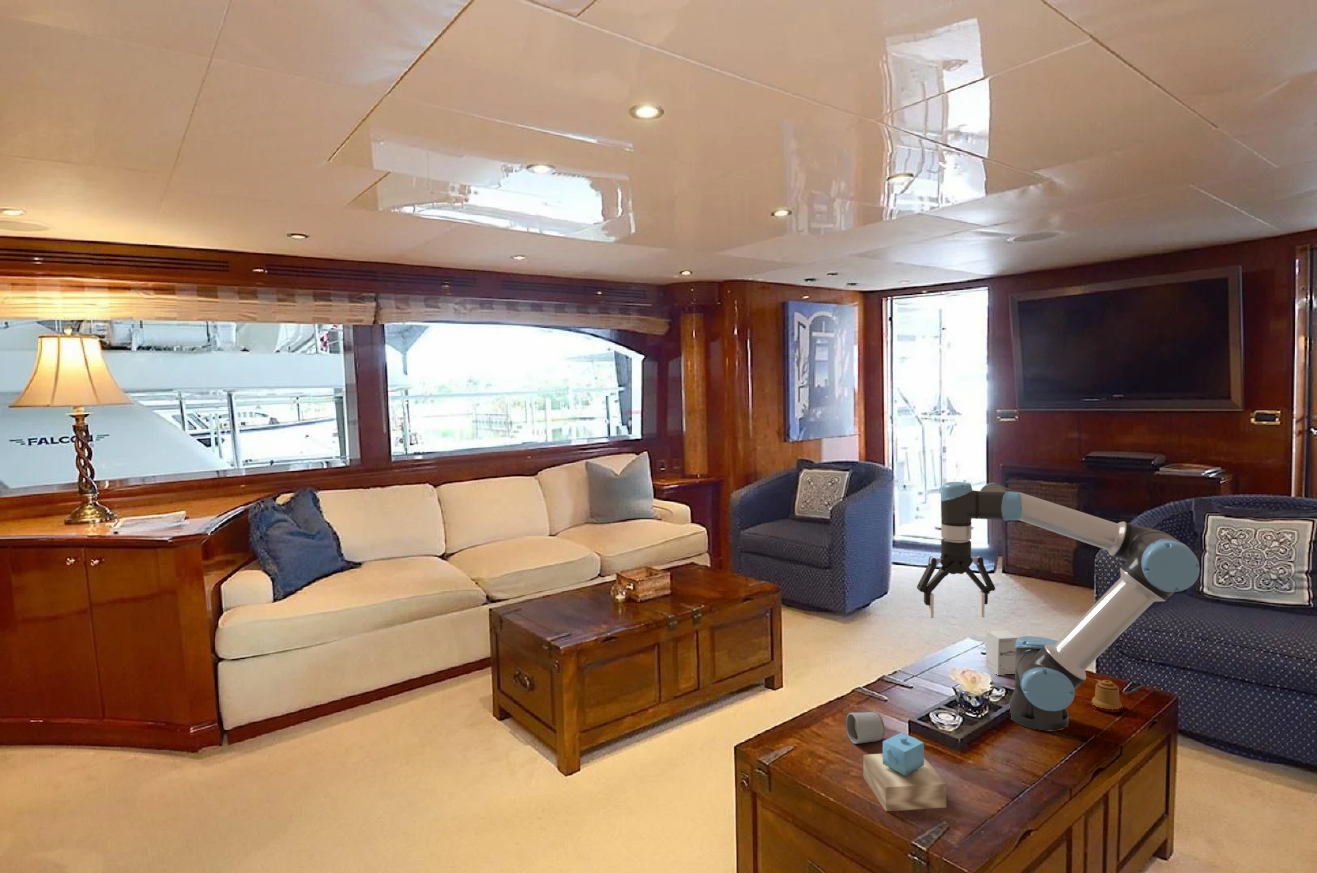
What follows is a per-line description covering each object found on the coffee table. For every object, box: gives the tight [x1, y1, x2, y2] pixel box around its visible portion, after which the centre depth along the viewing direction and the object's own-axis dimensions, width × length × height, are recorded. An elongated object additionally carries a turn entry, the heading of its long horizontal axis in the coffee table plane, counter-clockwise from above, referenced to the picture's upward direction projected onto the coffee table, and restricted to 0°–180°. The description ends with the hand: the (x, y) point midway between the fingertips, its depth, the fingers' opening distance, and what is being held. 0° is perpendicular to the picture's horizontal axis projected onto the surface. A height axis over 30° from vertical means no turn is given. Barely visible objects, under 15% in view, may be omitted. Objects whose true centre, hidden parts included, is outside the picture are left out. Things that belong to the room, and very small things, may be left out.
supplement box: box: [985, 629, 1019, 676], centre depth 231 cm, size 7×7×13 cm
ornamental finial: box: [1091, 679, 1123, 710], centre depth 203 cm, size 8×8×8 cm
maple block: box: [862, 753, 947, 812], centre depth 165 cm, size 14×14×6 cm
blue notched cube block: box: [882, 732, 925, 776], centre depth 164 cm, size 12×6×8 cm, turn 125°
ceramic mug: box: [845, 711, 886, 745], centre depth 190 cm, size 11×8×8 cm
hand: (955, 616), depth 192 cm, fingers open, 13 cm apart
